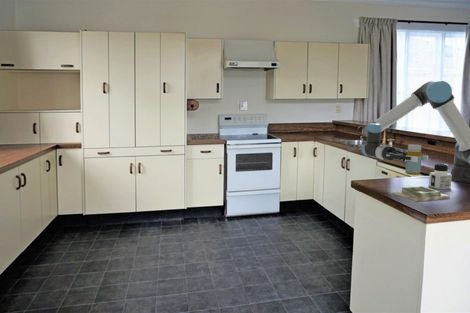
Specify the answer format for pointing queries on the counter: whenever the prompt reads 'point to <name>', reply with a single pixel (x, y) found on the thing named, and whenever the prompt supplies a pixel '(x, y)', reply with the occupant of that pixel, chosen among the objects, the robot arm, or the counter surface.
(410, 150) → the bottle
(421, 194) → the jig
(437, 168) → the container
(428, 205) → the counter surface
